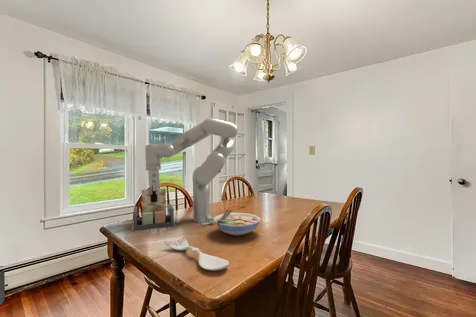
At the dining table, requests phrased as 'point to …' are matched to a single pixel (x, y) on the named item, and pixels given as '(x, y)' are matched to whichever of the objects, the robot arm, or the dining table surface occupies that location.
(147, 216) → the sage offcut
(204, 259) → the white spork utensil
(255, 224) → the ramen bowl
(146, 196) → the birch sheet
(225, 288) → the dining table surface
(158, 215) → the terracotta offcut
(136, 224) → the offcut rack
